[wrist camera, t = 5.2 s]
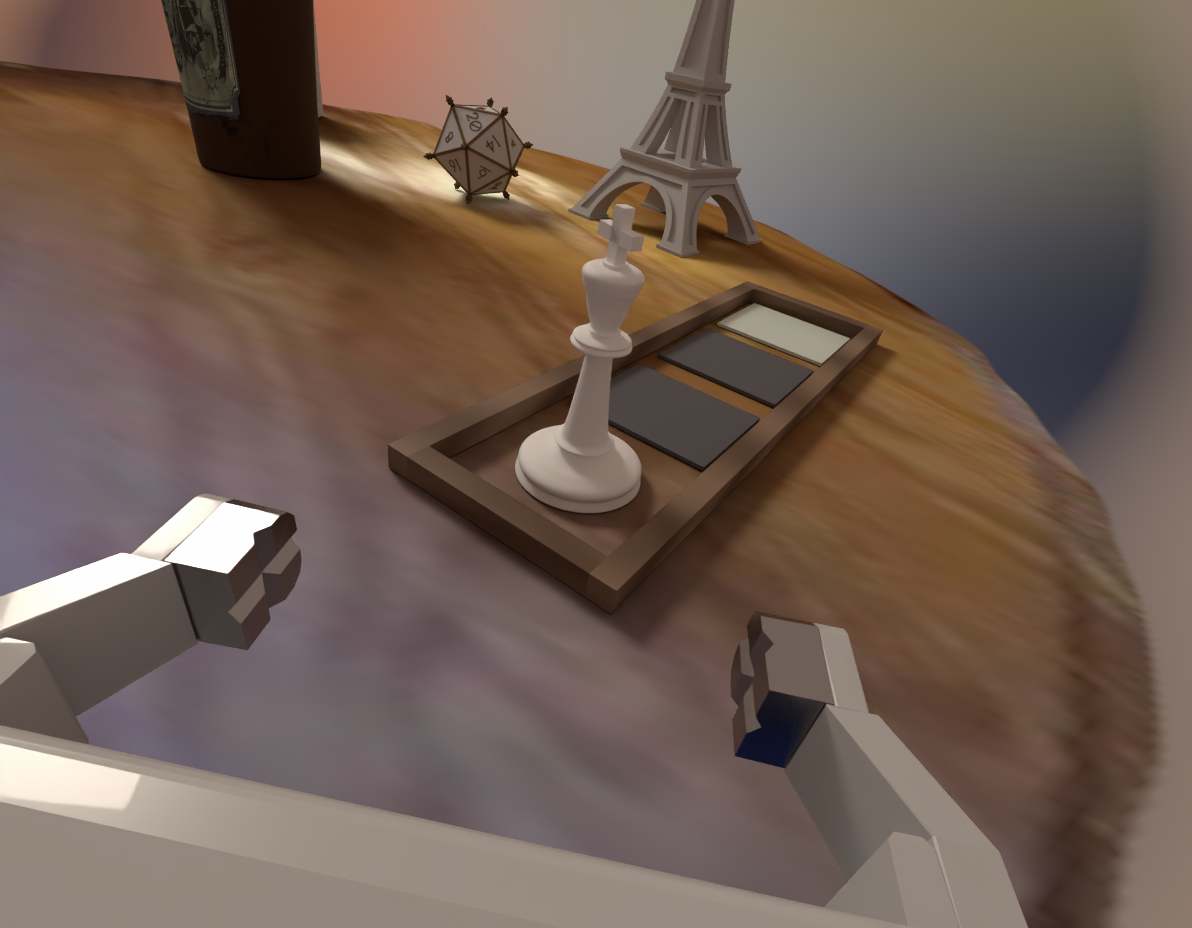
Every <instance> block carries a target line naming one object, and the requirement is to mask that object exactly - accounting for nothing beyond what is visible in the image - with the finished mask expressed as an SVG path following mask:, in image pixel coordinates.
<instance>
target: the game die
mask: <svg viewBox="0 0 1192 928" xmlns="http://www.w3.org/2000/svg"><path fill="white" fill-rule="evenodd" d="M446 101H447V102H448V104H449V105H450V106H451V108H450V110H449V113H448V116H447V118H446V121H445V124H444V126H443V129H442V132H441V134H440V137H439V140H438V142H437V145H436V148H435V150H434V153H433V154H431V153H427V154H426V155H425V156H423V157H424V158H426V159H428V160H429V159H432V158H435V159H436V160H437V161H438V163H439V164H440V165H441V166H442V167H443V168H444V169H445V170H446V171H447V172H448V173H449V174H450V175H451V177H452V178H453V179H454V180H455V181H456V182H455V184H454V186H455V189H459V187H460V186H461V187H462V188H463V189H464V191H465V192H466V193H467V194H468V195H467V197H466V201H467V204H469V203H470V202H471V201H472V195H479V194H489V193H500V192H502V193H503V196H504V198H506V199H508V200H509V196H510V195H509V194H508V192H506V188H507V186H508V184H509V181H510V179H511V177H512V175H513V176H514V177H516V176H519V175H518V171H516V170H515V167H516V165H517V163H518V161H519V158H520V156H521V154H522V151H523V149H524V148H527V149H528V148H529V149H530V147H531V146H532V145H533V144H531V143H529V142H526V143H525V144H523V143H522V141H521V140H520V138H519V137H518V135H517V134H516V133H515V131H514V130H513V128H512V127H511V125H510V124H509V123H508V121H507V120H506V119H505V117H504V116H505V115H507V113H508V110H507V107H505V108H503V109H502V111H501V113H499V112H498V111H496V110H495V109H493V108H491V107H492V105H493V100H492V98H490V99H489V100H487V101H488V102H487V104H488V106H478V105H455V104H454V103H453V100H452V98H451V97H449V96H447V95H446Z"/></svg>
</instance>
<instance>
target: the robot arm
mask: <svg viewBox="0 0 1192 928" xmlns="http://www.w3.org/2000/svg"><path fill="white" fill-rule="evenodd" d="M296 531H297V527H296V522H295V518H294V515H292V514H290V513H288V512H285V511H281V510H277V509H272V508H268V507H264V506H260V505H256V504H251V503H247V502H243V501H239V500H235V499H233V500H232V499H228V498H224V497H220V496H216V495H211V494H207V493H205V494H202V495H199V496H196V497H195V498H194V499H193V500H191V501H190V502H189V503H188V504H187V505H186V506H185V507H184V508H182V509H181V510H180V511H179V512H178V513H177V514H176V515H175V516H173V517H172V518H171V519H170V520H169V521H168V522H167V523H166V524H164V525H163V526H162V527H161V528H160V529H159V530H158V531H157V532H155V533H154V534H153V535H152V536H151V537H150V538H149V539H148V540H146V541H145V542H144V543H143V544H142V545H141V546H140V547H139V548H137V549H136V550H135V551H134V552H133V553H132V554H126V553H120V554H117V555H114V556H111V557H109V558H106V559H103V560H100V561H98V562H95V563H92V564H89V565H87V566H84V567H81V568H78V569H75V570H73V571H70V572H67V573H64V574H62V575H59V576H56V577H53V578H51V579H48V580H45V581H42V582H40V583H37V584H34V585H31V586H29V587H26V588H23V589H20V590H18V591H15V592H12V593H9V594H7V595H4V596H1V597H0V928H1028V927H1027V924H1026V921H1025V919H1024V916H1023V913H1022V911H1021V908H1020V905H1019V903H1018V900H1017V897H1016V895H1015V892H1014V889H1013V887H1012V884H1011V882H1010V879H1009V876H1008V874H1007V871H1006V868H1005V866H1004V863H1003V860H1002V858H1001V855H1000V852H999V851H998V850H997V849H996V848H995V847H994V846H993V844H992V843H991V842H990V841H989V840H988V839H987V838H986V837H985V835H984V834H983V833H982V832H981V831H980V830H979V829H978V828H977V826H976V825H975V824H974V823H973V822H972V821H971V820H970V818H969V817H968V816H967V815H966V814H965V813H964V812H963V811H962V809H961V808H960V807H959V806H958V805H957V804H956V803H955V802H954V800H953V799H952V798H951V797H950V796H949V795H948V794H947V792H946V791H945V790H944V789H943V788H942V787H941V786H940V785H939V783H938V782H937V781H936V780H935V779H934V778H933V777H932V775H931V774H930V773H929V772H928V771H927V770H926V769H925V768H924V766H923V765H922V764H921V763H920V762H919V761H918V760H917V759H916V757H915V756H914V755H913V754H912V753H911V752H910V751H909V749H908V748H907V747H906V746H905V745H904V744H903V743H902V742H901V740H900V739H899V738H898V737H897V736H896V735H895V734H894V732H893V731H892V730H891V729H890V728H889V727H888V726H887V725H886V723H885V722H884V721H883V720H882V719H881V718H880V717H879V716H878V715H875V714H870V713H869V710H868V706H867V702H866V699H865V695H864V691H863V688H862V684H861V680H860V677H859V673H858V669H857V665H856V662H855V658H854V654H853V651H852V647H851V643H850V640H849V636H848V634H847V632H846V631H845V630H844V629H841V628H836V627H831V626H826V625H821V624H817V623H814V624H813V623H811V622H806V621H802V620H797V619H792V618H787V617H782V616H777V615H772V614H767V613H762V612H757V611H756V612H755V613H754V614H753V615H752V617H751V619H750V621H749V623H748V625H747V629H748V639H746V640H744V641H742V642H740V643H739V645H738V648H737V650H736V653H735V655H734V660H733V665H732V669H731V683H730V684H731V697H732V698H733V700H734V701H735V703H736V704H737V705H738V709H737V711H736V713H735V715H734V717H733V719H732V723H733V738H734V754H735V756H736V757H740V758H744V759H748V760H753V761H757V762H761V763H765V764H769V765H773V766H777V767H781V768H785V770H784V771H785V773H786V775H787V777H788V778H789V780H790V782H791V784H792V785H793V787H794V789H795V790H796V792H797V794H798V796H799V797H800V799H801V801H802V802H803V804H804V806H805V808H806V809H807V811H808V813H809V814H810V816H811V818H812V820H813V821H814V823H815V825H816V826H817V828H818V830H819V832H820V833H821V835H822V837H823V838H824V840H825V842H826V844H827V845H828V847H829V849H830V850H831V852H832V854H833V856H834V857H835V859H836V861H837V863H838V864H839V866H840V868H841V869H842V871H843V873H844V875H845V876H846V878H847V880H848V882H847V883H846V884H845V885H844V886H843V887H842V888H841V889H840V890H839V892H838V893H837V894H836V895H835V896H834V897H833V898H832V899H831V900H830V901H829V902H828V903H827V905H826V906H825V907H819V906H815V905H810V904H806V903H801V902H797V901H792V900H788V899H783V898H778V897H774V896H769V895H765V894H760V893H756V892H751V891H747V890H742V889H738V888H733V887H729V886H724V885H720V884H715V883H711V882H706V881H702V880H697V879H693V878H688V877H684V876H679V875H675V874H670V873H666V872H661V871H657V870H652V869H648V868H643V867H639V866H634V865H630V864H625V863H621V862H616V861H612V860H607V859H603V858H598V857H594V856H589V855H585V854H580V853H576V852H571V851H567V850H562V849H557V848H553V847H548V846H544V845H539V844H535V843H530V842H526V841H521V840H517V839H512V838H508V837H503V836H499V835H494V834H490V833H485V832H481V831H476V830H472V829H467V828H463V827H458V826H454V825H449V824H445V823H440V822H436V821H431V820H427V819H422V818H418V817H413V816H409V815H404V814H400V813H396V812H391V811H387V810H382V809H377V808H373V807H368V806H364V805H359V804H355V803H350V802H346V801H341V800H337V799H332V798H328V797H323V796H319V795H314V794H310V793H305V792H300V791H296V790H291V789H287V788H282V787H278V786H273V785H269V784H264V783H260V782H255V781H251V780H246V779H242V778H237V777H233V776H228V775H223V774H219V773H214V772H210V771H205V770H201V769H196V768H192V767H187V766H183V765H178V764H174V763H169V762H165V761H160V760H156V759H151V758H147V757H142V756H138V755H133V754H129V753H124V752H120V751H115V750H111V749H106V748H102V747H97V746H93V745H89V743H88V737H87V736H86V734H85V732H84V730H83V729H82V727H81V725H80V723H79V722H78V720H77V718H76V716H78V715H80V714H81V713H83V712H85V711H86V710H88V709H90V708H91V707H93V706H95V705H96V704H98V703H100V702H101V701H103V700H104V699H106V698H108V697H109V696H111V695H113V694H114V693H116V692H118V691H119V690H121V689H123V688H124V687H126V686H128V685H129V684H131V683H133V682H134V681H136V680H138V679H139V678H141V677H143V676H144V675H146V674H148V673H149V672H151V671H153V670H154V669H156V668H158V667H159V666H161V665H163V664H164V663H166V662H168V661H169V660H171V659H173V658H174V657H176V656H178V655H179V654H181V653H183V652H184V651H186V650H188V649H189V648H191V647H193V646H194V645H196V644H197V643H198V642H197V641H201V642H207V643H212V644H217V645H223V646H228V647H233V648H239V649H244V650H248V649H249V648H250V646H251V645H252V644H253V642H254V641H255V640H256V638H257V637H258V636H259V634H260V633H261V632H262V630H263V629H264V628H265V626H266V625H267V624H268V622H269V621H270V613H269V608H270V607H272V606H274V605H276V604H278V603H280V602H282V601H284V600H285V599H286V598H287V596H288V595H289V594H290V592H291V591H292V589H293V588H294V586H295V583H296V581H297V578H298V576H299V573H300V569H301V552H300V548H299V547H298V546H297V545H296V544H295V542H294V541H293V540H292V539H291V537H292V535H293V534H294V533H295V532H296Z"/></svg>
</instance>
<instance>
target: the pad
mask: <svg viewBox="0 0 1192 928" xmlns="http://www.w3.org/2000/svg"><path fill="white" fill-rule="evenodd" d="M717 326H720V327H722V328H725V329H727V330H730V331H732V332H735V333H737V334H740V335H742V336H745V337H747V338H750V339H752V340H755V341H757V342H760V343H762V344H765V345H767V346H770V347H773V348H775V349H778V350H780V351H783V352H785V353H788V354H790V355H793V356H795V357H798V358H800V359H803V360H805V361H808V362H810V363H813V364H815V365H818V366H820V367H821V366H822V365H823V364H824V363H825V362H826V361H827V360H828V359H830V358H831V357H832V356H833V355H834V354H835V353H836V352H837V351H838V350H840V349H841V348H842V347H843V346H844V345H845V344H846V343H847V342H849V340H850V338H848V337H845V336H842V335H840V334H837V333H834V332H831V331H829V330H826V329H823V328H821V327H818V326H815V325H813V324H810V323H807V322H804V321H802V320H799V319H796V318H794V317H791V316H788V315H785V314H783V313H780V312H777V311H775V310H772V309H769V308H767V307H764V306H761V305H758V304H756V303H753V304H752V305H750V306H748V307H746V308H744V309H742V310H740V311H738V312H736V313H735V314H733V315H731V316H729V317H727V318H725V319H723V320H721V321H719V322H718V323H717Z"/></svg>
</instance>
